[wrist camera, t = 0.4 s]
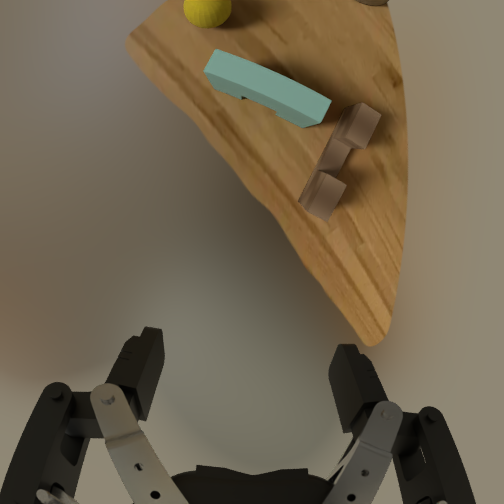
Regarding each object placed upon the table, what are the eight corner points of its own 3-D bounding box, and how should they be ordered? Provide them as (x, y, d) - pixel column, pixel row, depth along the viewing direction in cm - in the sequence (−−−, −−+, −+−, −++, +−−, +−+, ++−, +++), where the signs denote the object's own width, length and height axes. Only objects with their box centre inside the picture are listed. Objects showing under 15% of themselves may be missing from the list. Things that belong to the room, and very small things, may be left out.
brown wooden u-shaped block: (344, 108, 31) (362, 102, 25) (361, 118, 31) (381, 114, 26) (297, 200, 35) (307, 211, 30) (315, 209, 36) (327, 222, 30)
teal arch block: (214, 88, 30) (203, 71, 21) (223, 71, 29) (215, 48, 21) (302, 128, 32) (320, 122, 24) (311, 110, 31) (331, 100, 23)
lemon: (241, 22, 26) (240, -6, 19) (205, 43, 27) (194, 19, 20) (217, -2, 25) (211, -32, 17) (182, 18, 26) (167, -8, 18)
